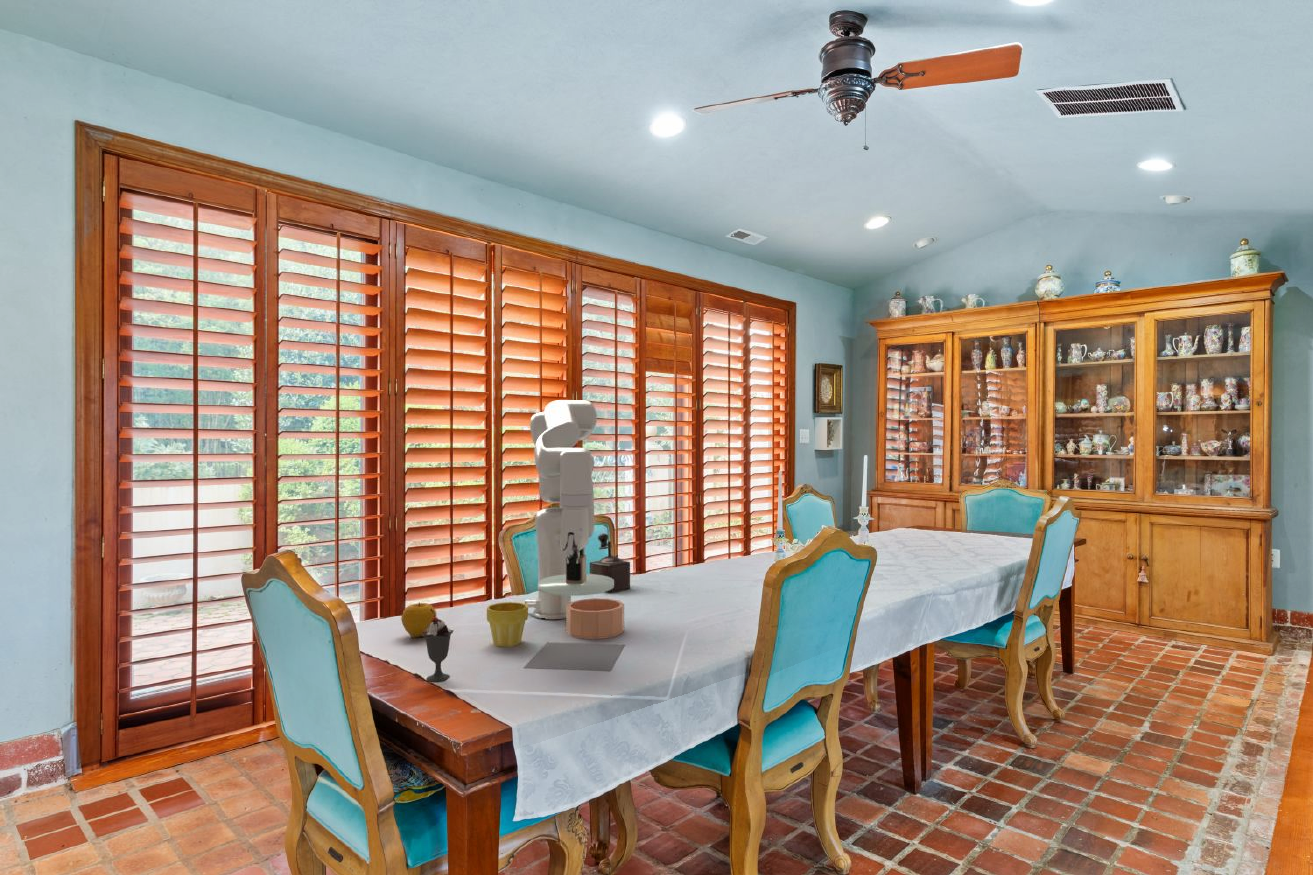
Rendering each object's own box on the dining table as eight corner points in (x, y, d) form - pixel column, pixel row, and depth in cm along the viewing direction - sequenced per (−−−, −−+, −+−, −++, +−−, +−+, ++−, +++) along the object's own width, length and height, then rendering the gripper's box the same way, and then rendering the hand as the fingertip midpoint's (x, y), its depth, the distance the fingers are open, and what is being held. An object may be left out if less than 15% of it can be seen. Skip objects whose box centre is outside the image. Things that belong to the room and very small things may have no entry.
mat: (523, 670, 161) (523, 667, 161) (547, 644, 181) (547, 642, 181) (610, 673, 159) (610, 670, 159) (625, 646, 179) (625, 644, 179)
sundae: (425, 673, 159) (425, 606, 159) (456, 672, 160) (456, 605, 160) (418, 683, 153) (418, 613, 153) (450, 682, 153) (450, 613, 153)
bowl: (561, 639, 185) (561, 610, 185) (574, 624, 200) (574, 597, 200) (618, 641, 184) (618, 612, 184) (627, 626, 198) (627, 599, 198)
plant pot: (535, 640, 185) (535, 603, 185) (515, 652, 175) (514, 612, 175) (500, 637, 188) (500, 600, 188) (478, 648, 178) (478, 609, 178)
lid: (528, 594, 163) (528, 562, 162) (549, 577, 180) (549, 549, 180) (606, 596, 160) (606, 564, 160) (619, 579, 178) (619, 550, 178)
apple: (425, 641, 184) (425, 607, 184) (394, 640, 186) (393, 605, 186) (442, 632, 193) (442, 599, 193) (412, 630, 195) (412, 597, 195)
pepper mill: (632, 588, 248) (632, 536, 248) (607, 593, 240) (607, 539, 240) (604, 582, 259) (604, 532, 259) (580, 586, 251) (579, 535, 251)
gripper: (568, 497, 179) (569, 570, 179) (551, 505, 162) (551, 585, 163) (598, 498, 178) (598, 571, 178) (583, 505, 161) (583, 586, 162)
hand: (576, 577), depth 170 cm, fingers closed on lid, 4 cm apart
